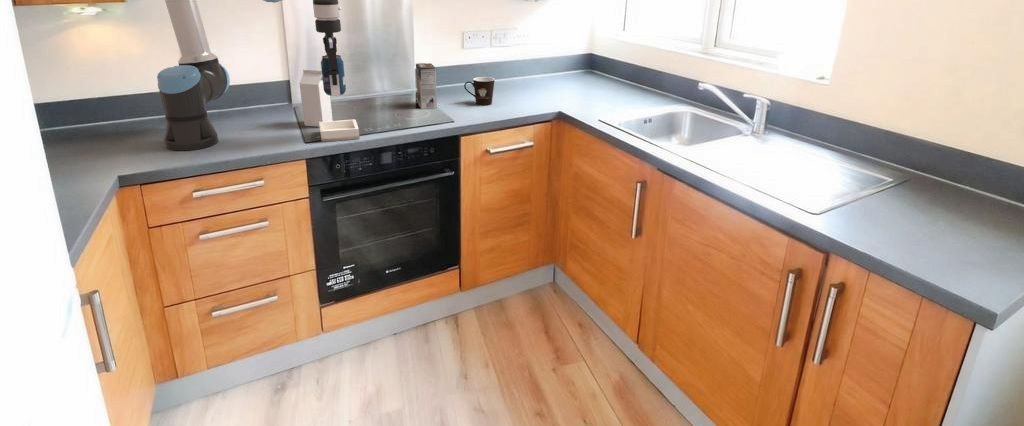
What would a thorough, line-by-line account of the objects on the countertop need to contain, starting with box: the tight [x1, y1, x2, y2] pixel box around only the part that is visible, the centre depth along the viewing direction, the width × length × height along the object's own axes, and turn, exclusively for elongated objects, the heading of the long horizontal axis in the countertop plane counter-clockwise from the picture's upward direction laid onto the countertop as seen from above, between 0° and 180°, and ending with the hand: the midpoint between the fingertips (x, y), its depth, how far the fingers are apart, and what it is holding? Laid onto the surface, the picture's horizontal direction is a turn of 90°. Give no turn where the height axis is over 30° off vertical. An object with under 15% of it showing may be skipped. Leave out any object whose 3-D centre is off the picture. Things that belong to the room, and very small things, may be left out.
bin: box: [319, 119, 360, 143], centre depth 201 cm, size 12×12×4 cm
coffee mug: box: [463, 76, 495, 107], centre depth 244 cm, size 12×9×10 cm
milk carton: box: [298, 69, 334, 128], centre depth 210 cm, size 7×7×19 cm
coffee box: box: [415, 62, 438, 110], centre depth 237 cm, size 9×6×16 cm
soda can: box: [320, 54, 347, 97], centre depth 194 cm, size 7×7×12 cm
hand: (335, 92), depth 196 cm, fingers closed on soda can, 7 cm apart
